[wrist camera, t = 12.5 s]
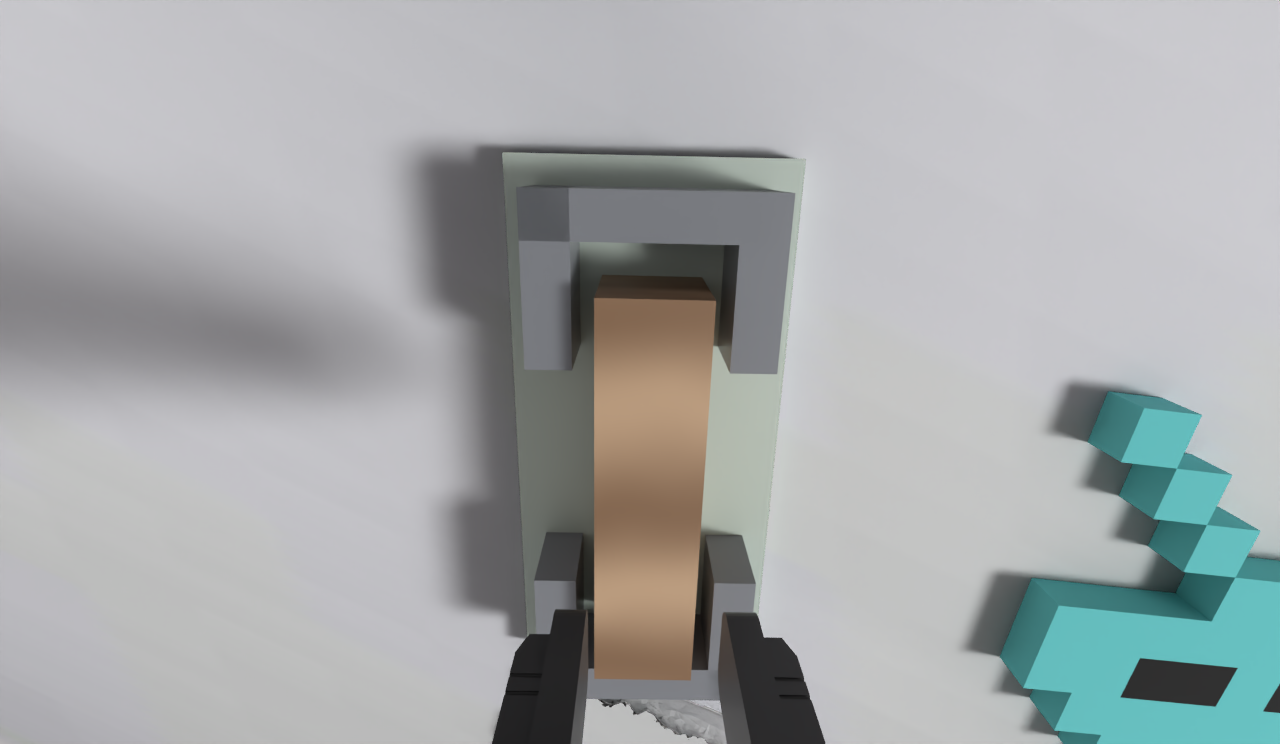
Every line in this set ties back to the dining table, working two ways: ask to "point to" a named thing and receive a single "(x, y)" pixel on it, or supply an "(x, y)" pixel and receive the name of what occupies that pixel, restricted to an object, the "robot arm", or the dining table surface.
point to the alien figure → (1159, 610)
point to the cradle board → (563, 399)
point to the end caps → (745, 341)
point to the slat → (649, 470)
